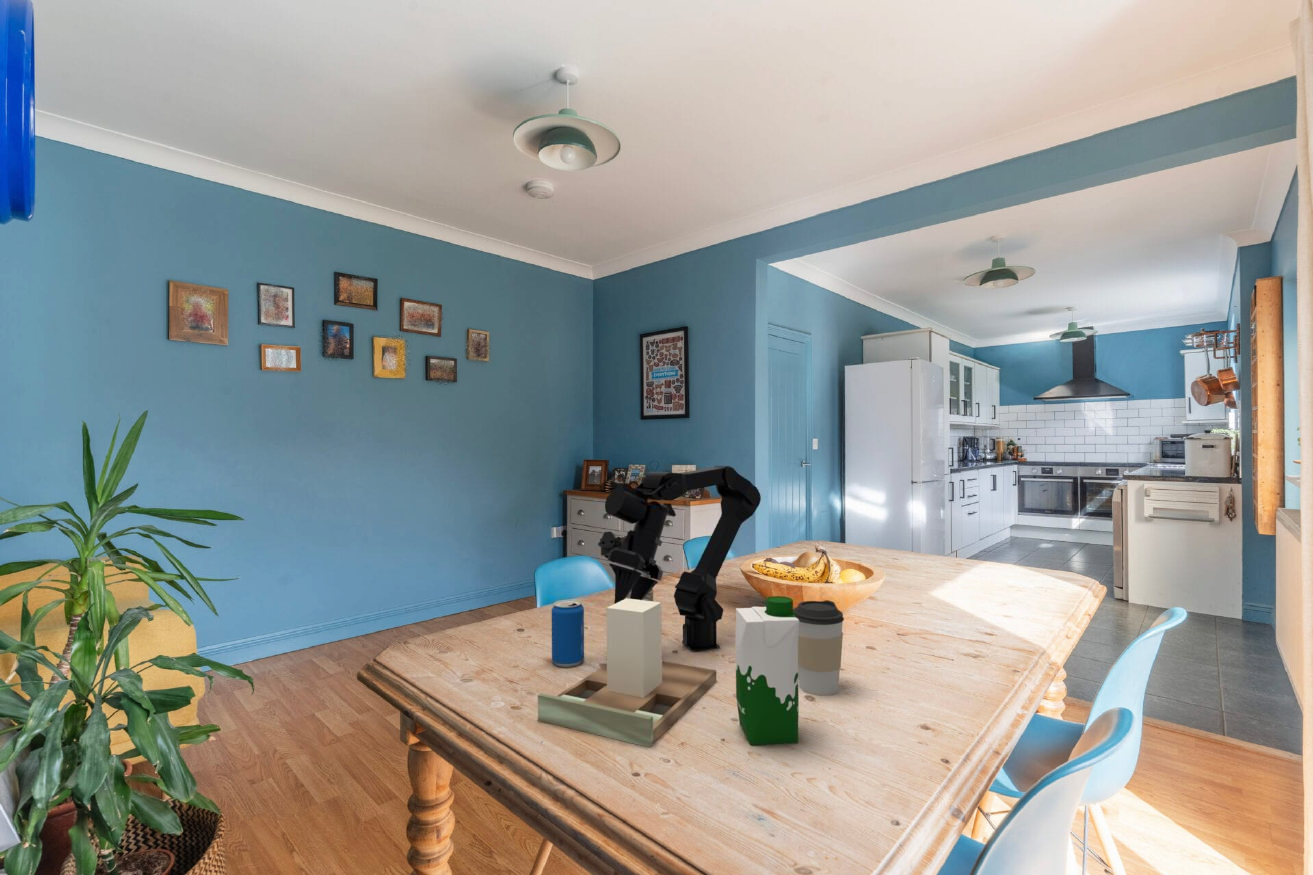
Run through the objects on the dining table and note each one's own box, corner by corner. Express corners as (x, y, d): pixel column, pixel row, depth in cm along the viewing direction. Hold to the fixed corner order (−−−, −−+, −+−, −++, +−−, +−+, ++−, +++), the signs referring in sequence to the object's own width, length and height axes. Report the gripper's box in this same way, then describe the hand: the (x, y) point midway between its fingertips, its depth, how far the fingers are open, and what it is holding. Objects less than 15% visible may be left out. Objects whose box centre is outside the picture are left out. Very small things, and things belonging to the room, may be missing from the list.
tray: (622, 664, 119) (621, 644, 119) (716, 681, 110) (716, 659, 110) (537, 720, 95) (537, 695, 95) (649, 747, 86) (649, 719, 86)
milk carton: (806, 745, 86) (804, 606, 87) (744, 748, 85) (742, 608, 86) (787, 718, 95) (786, 591, 95) (731, 721, 94) (730, 593, 95)
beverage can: (578, 669, 117) (577, 607, 117) (546, 667, 118) (546, 606, 118) (588, 657, 123) (588, 599, 124) (558, 656, 125) (558, 598, 125)
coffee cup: (816, 701, 101) (815, 612, 101) (782, 683, 109) (781, 600, 109) (856, 691, 105) (854, 605, 105) (819, 674, 113) (818, 594, 113)
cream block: (627, 676, 108) (626, 598, 108) (662, 682, 105) (661, 602, 105) (607, 690, 102) (606, 607, 102) (643, 697, 99) (642, 612, 99)
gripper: (625, 530, 132) (603, 600, 128) (596, 510, 115) (569, 591, 111) (672, 543, 128) (651, 615, 124) (649, 524, 112) (624, 608, 107)
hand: (624, 607), depth 117 cm, fingers open, 9 cm apart
